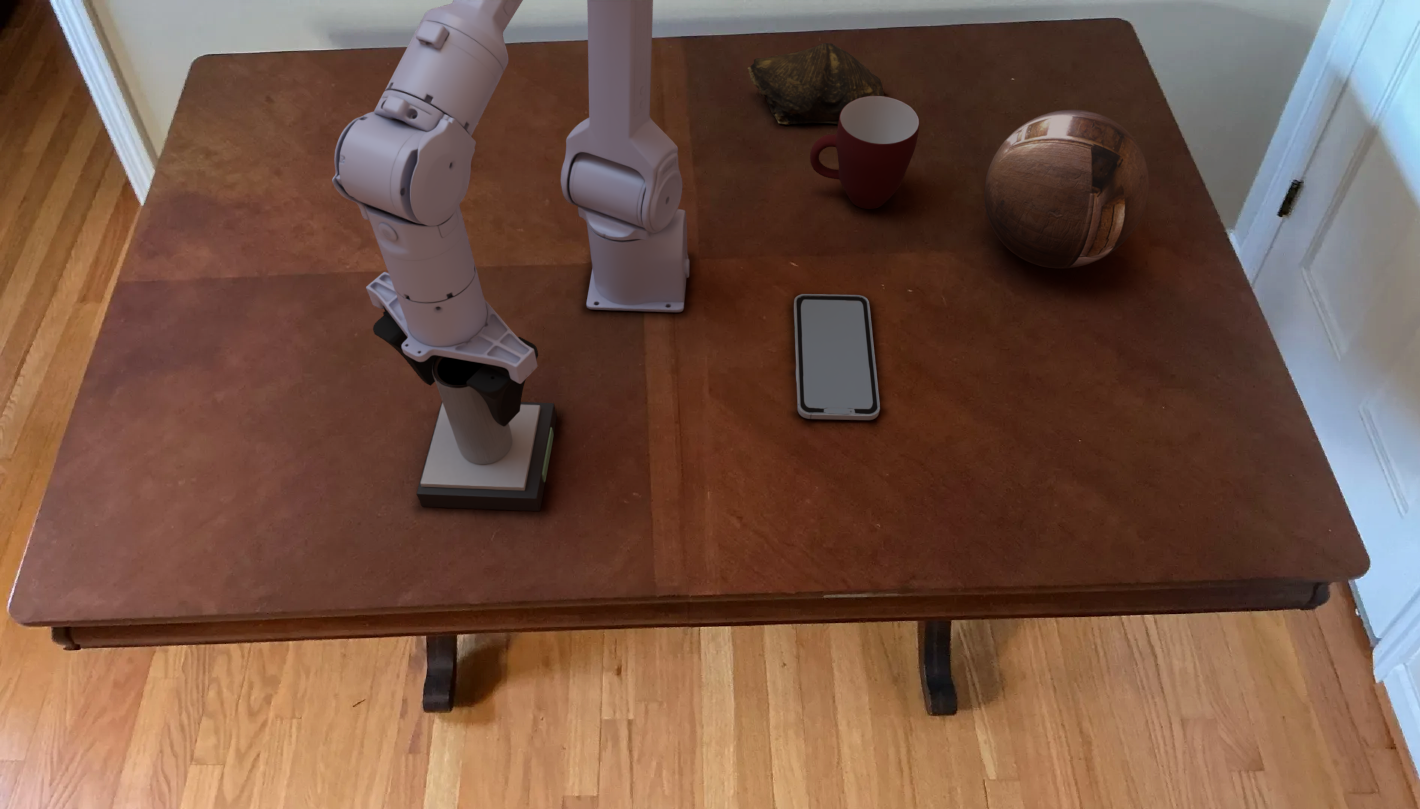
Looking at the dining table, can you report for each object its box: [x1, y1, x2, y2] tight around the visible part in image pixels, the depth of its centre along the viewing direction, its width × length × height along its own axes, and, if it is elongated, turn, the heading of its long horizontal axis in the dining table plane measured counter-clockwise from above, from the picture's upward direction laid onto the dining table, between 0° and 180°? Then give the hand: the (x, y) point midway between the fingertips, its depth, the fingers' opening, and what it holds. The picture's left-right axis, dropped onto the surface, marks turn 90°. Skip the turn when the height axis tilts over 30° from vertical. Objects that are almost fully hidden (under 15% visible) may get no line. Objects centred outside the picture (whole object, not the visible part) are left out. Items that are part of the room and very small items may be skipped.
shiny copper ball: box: [983, 109, 1150, 269], centre depth 97 cm, size 15×15×15 cm
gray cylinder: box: [432, 356, 512, 465], centre depth 80 cm, size 4×4×10 cm
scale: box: [416, 401, 558, 512], centre depth 85 cm, size 10×10×2 cm
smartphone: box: [793, 293, 881, 421], centre depth 93 cm, size 7×1×15 cm
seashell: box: [746, 42, 885, 125], centre depth 115 cm, size 16×9×7 cm, turn 91°
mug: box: [809, 95, 921, 210], centre depth 104 cm, size 11×8×10 cm
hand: (472, 396), depth 79 cm, fingers open, 7 cm apart
